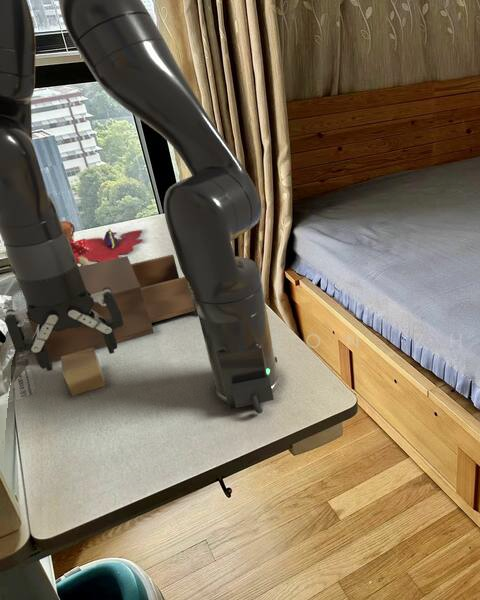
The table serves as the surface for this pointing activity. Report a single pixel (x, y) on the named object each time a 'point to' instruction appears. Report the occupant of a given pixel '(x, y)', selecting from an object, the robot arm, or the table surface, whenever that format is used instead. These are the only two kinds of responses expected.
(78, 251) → the bird rattle
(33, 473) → the table surface
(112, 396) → the table surface
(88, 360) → the beech block
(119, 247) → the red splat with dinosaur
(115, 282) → the cabinet
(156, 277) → the drawer
